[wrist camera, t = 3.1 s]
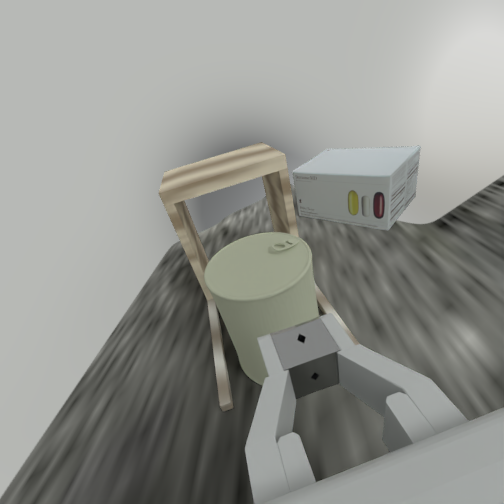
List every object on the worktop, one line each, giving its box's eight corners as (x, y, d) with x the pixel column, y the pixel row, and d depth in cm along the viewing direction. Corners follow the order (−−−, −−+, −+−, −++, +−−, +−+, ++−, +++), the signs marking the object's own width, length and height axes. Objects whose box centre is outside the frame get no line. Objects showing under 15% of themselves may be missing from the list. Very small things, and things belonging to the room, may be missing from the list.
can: (345, 354, 25) (338, 254, 19) (264, 409, 23) (224, 316, 16) (292, 302, 33) (273, 217, 26) (226, 339, 30) (189, 256, 24)
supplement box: (297, 217, 51) (290, 171, 46) (330, 190, 58) (327, 147, 53) (388, 232, 40) (391, 173, 35) (416, 196, 47) (422, 143, 42)
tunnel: (365, 358, 24) (364, 194, 16) (223, 411, 23) (137, 269, 15) (282, 241, 45) (261, 142, 36) (204, 266, 44) (164, 171, 35)
